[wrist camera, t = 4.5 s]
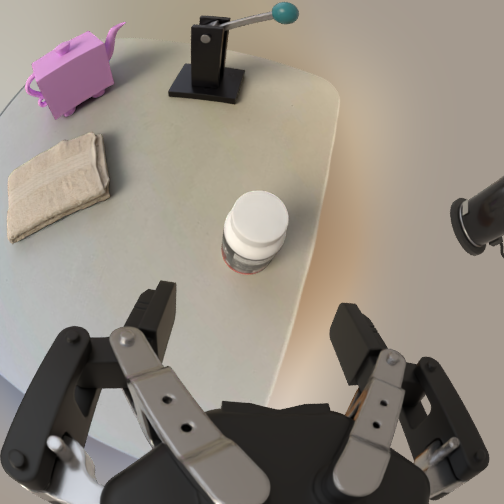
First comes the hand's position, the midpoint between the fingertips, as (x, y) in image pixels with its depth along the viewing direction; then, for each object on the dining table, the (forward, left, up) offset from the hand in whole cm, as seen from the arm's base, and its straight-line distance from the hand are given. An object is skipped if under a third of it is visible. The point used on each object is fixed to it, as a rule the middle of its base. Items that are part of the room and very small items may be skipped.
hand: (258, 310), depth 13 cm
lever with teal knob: (+5, -36, -5) cm, 37 cm away
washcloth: (+28, -12, -17) cm, 35 cm away
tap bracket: (+11, -36, -17) cm, 41 cm away
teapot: (+34, -33, -17) cm, 50 cm away
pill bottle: (0, -8, -17) cm, 19 cm away
